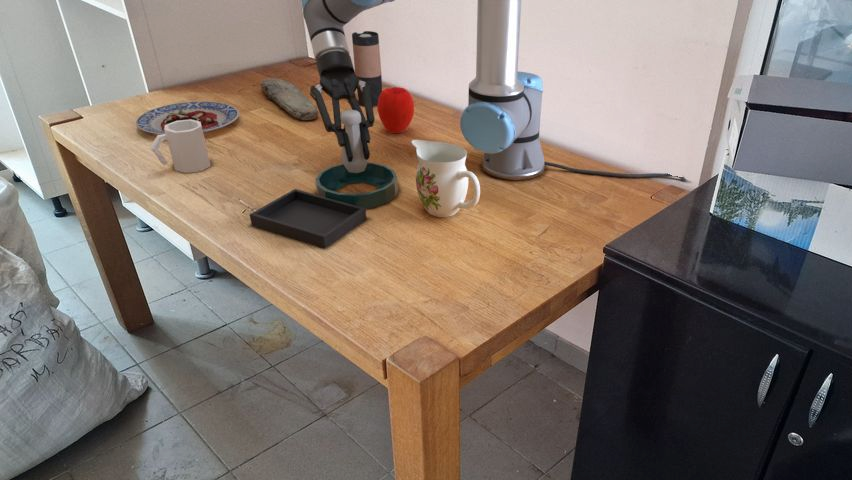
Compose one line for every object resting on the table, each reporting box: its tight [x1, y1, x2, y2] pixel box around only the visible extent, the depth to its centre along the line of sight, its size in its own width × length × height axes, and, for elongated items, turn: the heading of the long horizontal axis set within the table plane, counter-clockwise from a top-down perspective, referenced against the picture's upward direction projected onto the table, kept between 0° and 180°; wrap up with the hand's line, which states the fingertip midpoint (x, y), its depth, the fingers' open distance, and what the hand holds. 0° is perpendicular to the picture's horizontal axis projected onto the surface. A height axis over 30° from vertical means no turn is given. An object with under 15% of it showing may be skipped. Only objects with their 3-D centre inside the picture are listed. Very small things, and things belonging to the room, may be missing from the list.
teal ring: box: [315, 161, 399, 210], centre depth 146 cm, size 18×18×4 cm
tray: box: [249, 188, 368, 249], centre depth 134 cm, size 19×14×3 cm
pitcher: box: [411, 138, 481, 218], centre depth 137 cm, size 11×18×14 cm, turn 53°
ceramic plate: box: [135, 100, 240, 135], centre depth 177 cm, size 26×26×3 cm
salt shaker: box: [340, 109, 369, 173], centre depth 140 cm, size 6×6×13 cm
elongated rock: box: [260, 77, 319, 121], centre depth 193 cm, size 35×5×10 cm
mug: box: [150, 120, 211, 174], centre depth 152 cm, size 12×9×10 cm
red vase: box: [376, 86, 415, 134], centre depth 175 cm, size 10×10×12 cm
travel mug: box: [351, 30, 383, 107], centre depth 192 cm, size 8×8×20 cm
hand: (359, 157), depth 139 cm, fingers closed on salt shaker, 3 cm apart
